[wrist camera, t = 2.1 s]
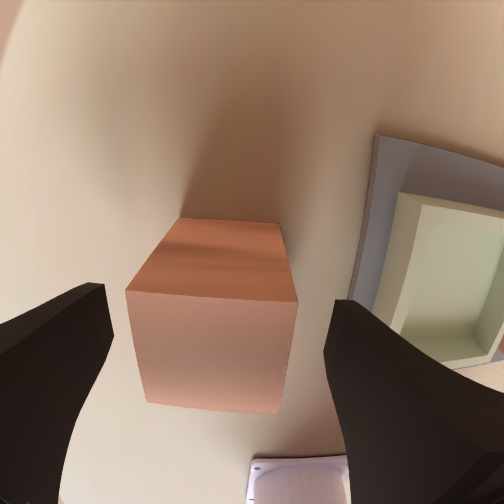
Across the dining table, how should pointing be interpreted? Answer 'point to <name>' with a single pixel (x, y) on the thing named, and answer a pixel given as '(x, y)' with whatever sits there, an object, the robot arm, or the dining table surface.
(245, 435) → the dining table surface
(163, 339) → the terracotta block
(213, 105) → the dining table surface
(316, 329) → the dining table surface
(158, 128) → the dining table surface
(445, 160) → the sorting board
